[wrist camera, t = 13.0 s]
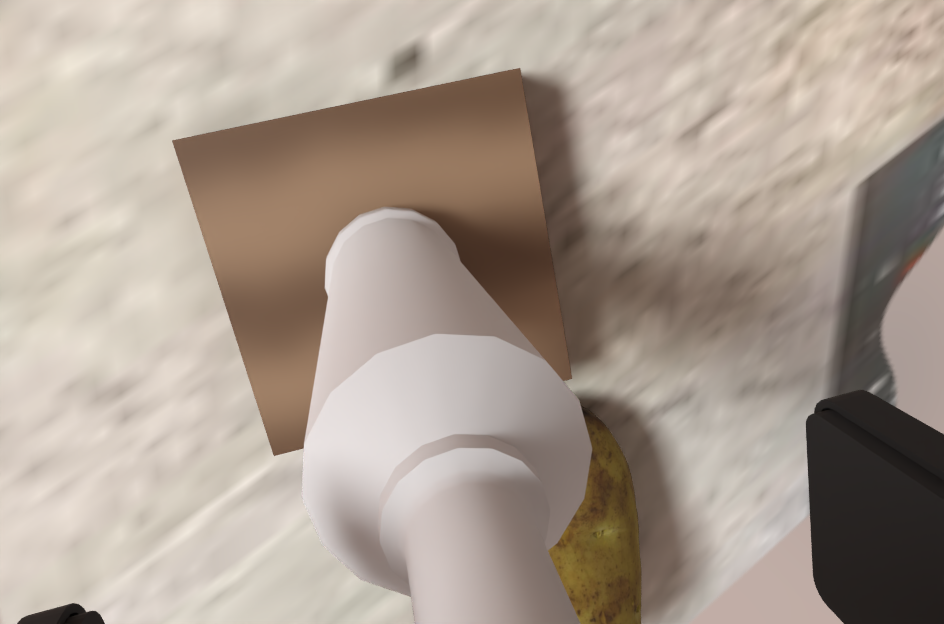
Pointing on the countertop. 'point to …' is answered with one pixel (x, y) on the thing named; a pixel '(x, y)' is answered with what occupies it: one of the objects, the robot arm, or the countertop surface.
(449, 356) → the bottle
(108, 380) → the countertop surface
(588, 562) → the potato
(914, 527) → the robot arm
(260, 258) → the walnut plinth
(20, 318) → the countertop surface
